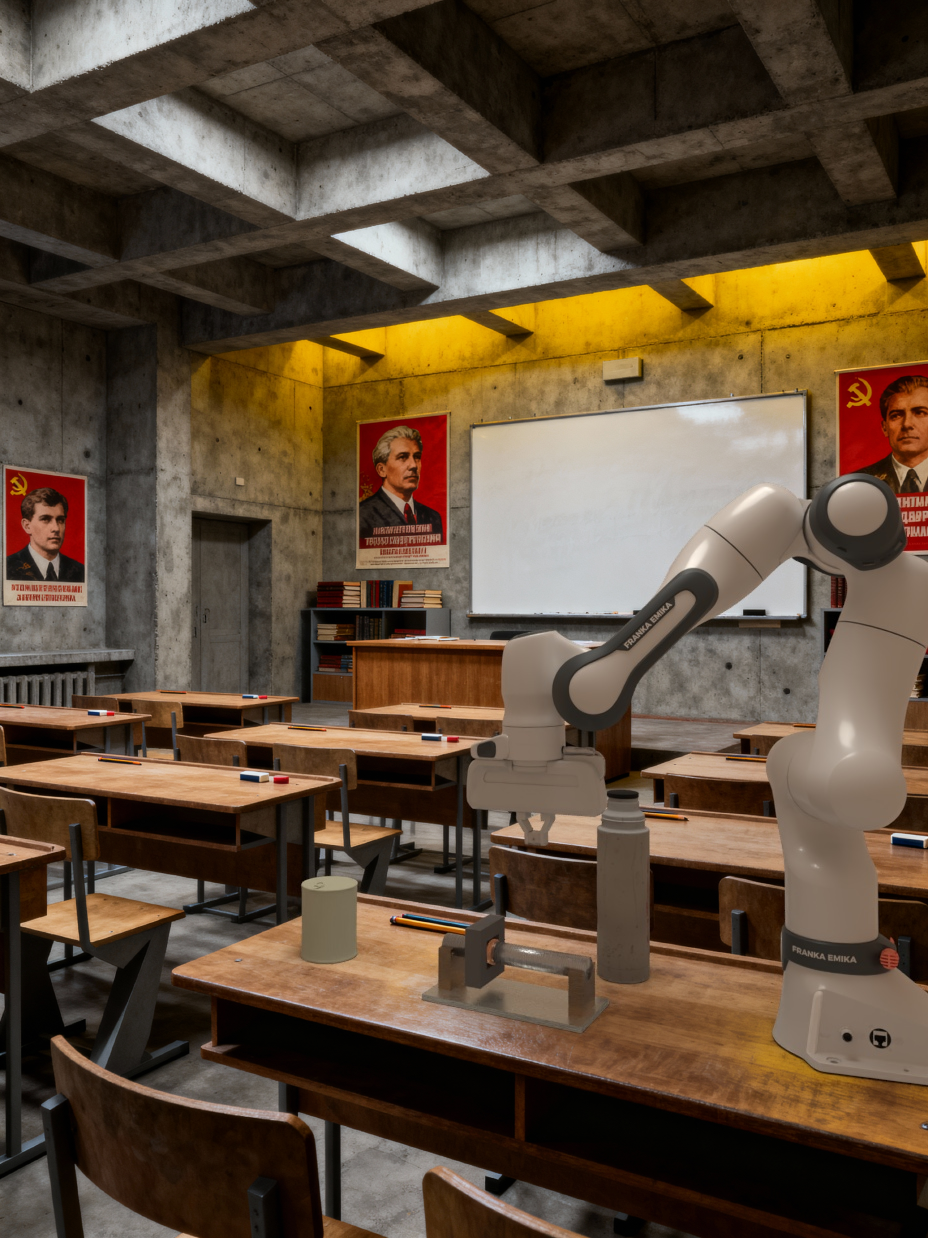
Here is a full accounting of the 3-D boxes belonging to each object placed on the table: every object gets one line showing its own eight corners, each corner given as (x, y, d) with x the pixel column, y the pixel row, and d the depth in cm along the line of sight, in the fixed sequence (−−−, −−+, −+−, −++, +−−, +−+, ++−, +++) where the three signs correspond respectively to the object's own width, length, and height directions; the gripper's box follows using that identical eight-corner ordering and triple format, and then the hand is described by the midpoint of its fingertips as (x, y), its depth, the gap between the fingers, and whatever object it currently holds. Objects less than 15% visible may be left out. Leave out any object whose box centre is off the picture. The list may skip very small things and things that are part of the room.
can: (288, 957, 148) (289, 882, 149) (325, 941, 156) (326, 870, 156) (332, 968, 143) (333, 890, 144) (369, 951, 151) (369, 878, 152)
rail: (609, 1004, 129) (609, 945, 129) (581, 1033, 119) (581, 969, 120) (458, 975, 140) (458, 920, 141) (421, 999, 131) (422, 941, 131)
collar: (504, 971, 135) (504, 916, 135) (480, 989, 128) (480, 931, 128) (489, 968, 136) (490, 914, 137) (464, 986, 129) (465, 928, 129)
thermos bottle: (649, 967, 144) (649, 787, 145) (649, 986, 136) (649, 795, 137) (598, 963, 146) (598, 786, 147) (595, 981, 138) (595, 793, 139)
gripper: (612, 745, 128) (614, 846, 127) (480, 741, 137) (482, 834, 137) (596, 750, 122) (599, 855, 122) (460, 745, 131) (462, 843, 131)
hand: (536, 844), depth 129 cm, fingers closed
